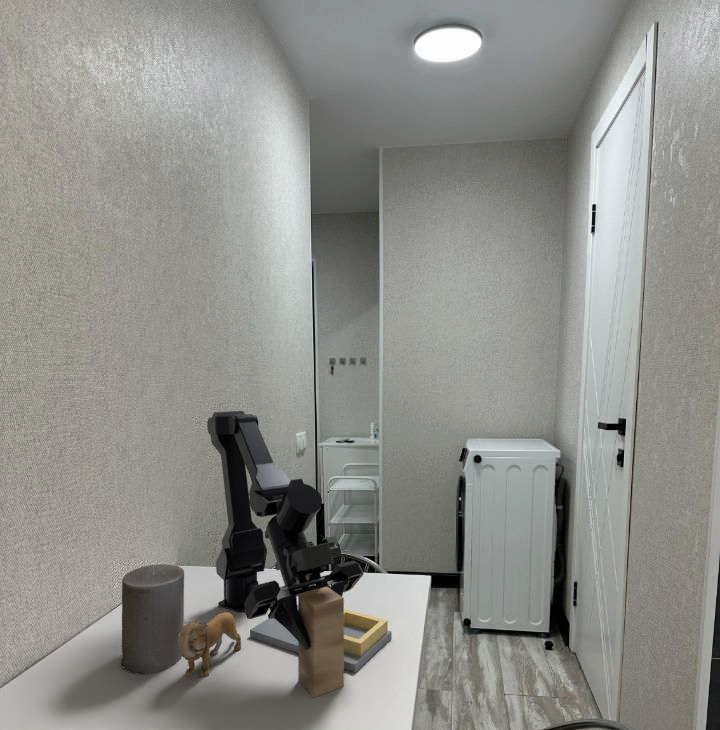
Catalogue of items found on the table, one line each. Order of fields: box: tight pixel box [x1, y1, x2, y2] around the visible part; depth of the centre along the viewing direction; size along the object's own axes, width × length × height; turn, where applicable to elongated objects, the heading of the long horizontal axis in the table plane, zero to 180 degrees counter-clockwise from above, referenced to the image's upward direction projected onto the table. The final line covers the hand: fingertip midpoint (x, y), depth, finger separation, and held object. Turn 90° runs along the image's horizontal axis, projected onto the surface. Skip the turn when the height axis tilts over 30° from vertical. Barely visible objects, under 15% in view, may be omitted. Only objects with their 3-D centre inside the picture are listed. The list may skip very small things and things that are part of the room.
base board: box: [249, 604, 393, 673], centre depth 92 cm, size 22×12×3 cm, turn 59°
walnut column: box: [297, 587, 345, 698], centre depth 79 cm, size 5×5×13 cm
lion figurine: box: [178, 612, 242, 678], centre depth 84 cm, size 15×5×9 cm, turn 164°
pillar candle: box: [120, 563, 185, 675], centre depth 86 cm, size 10×10×15 cm
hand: (325, 642), depth 77 cm, fingers closed on walnut column, 5 cm apart
